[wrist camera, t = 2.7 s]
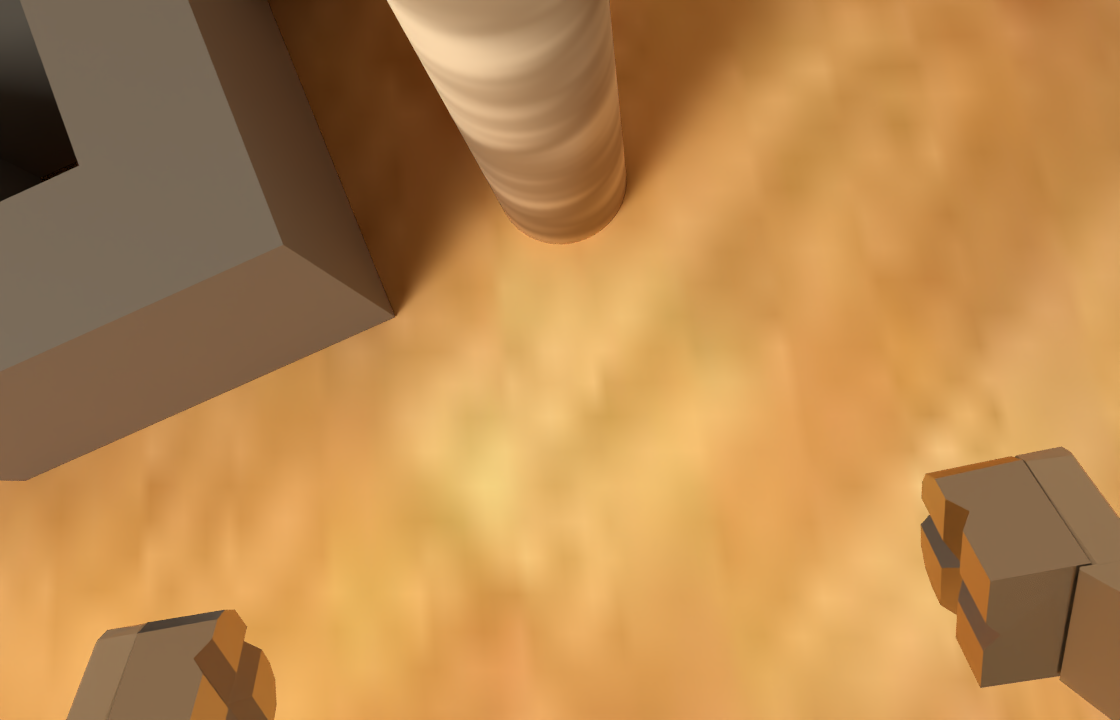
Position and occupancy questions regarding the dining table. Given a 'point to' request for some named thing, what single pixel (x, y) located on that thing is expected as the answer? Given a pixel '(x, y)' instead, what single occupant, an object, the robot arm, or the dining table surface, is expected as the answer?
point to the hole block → (159, 219)
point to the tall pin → (531, 104)
